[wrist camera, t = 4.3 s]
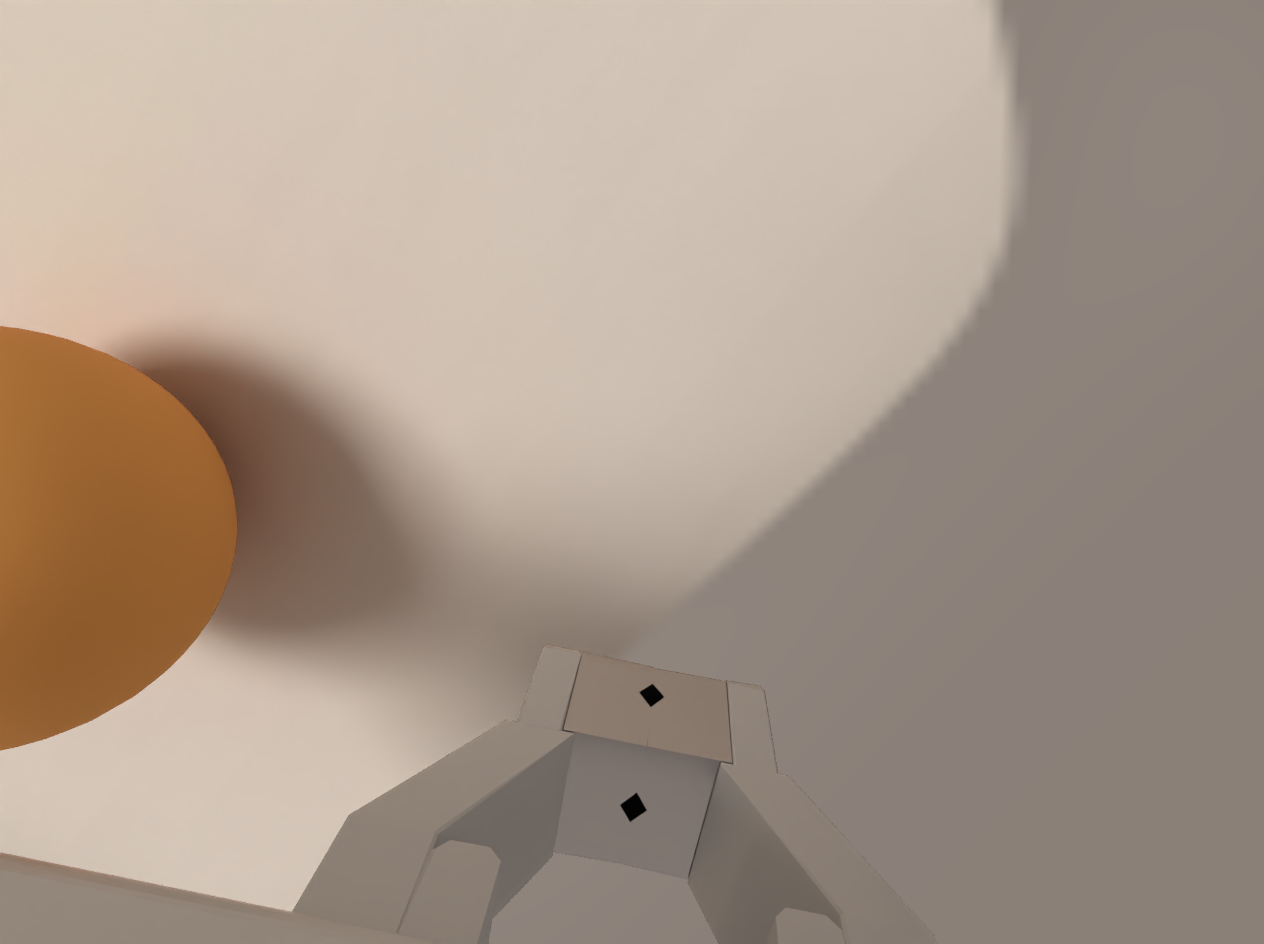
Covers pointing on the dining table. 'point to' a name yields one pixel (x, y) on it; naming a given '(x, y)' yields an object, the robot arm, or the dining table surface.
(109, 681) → the ball
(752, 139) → the dining table surface
